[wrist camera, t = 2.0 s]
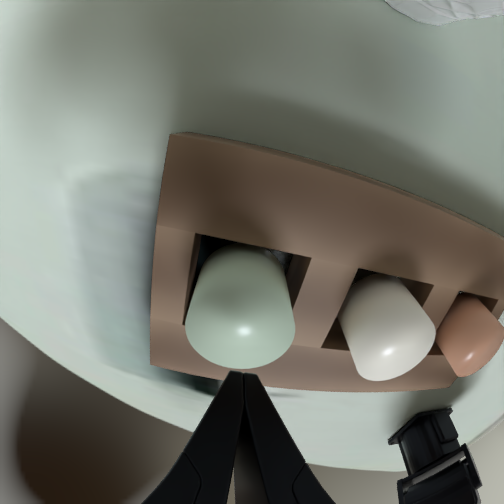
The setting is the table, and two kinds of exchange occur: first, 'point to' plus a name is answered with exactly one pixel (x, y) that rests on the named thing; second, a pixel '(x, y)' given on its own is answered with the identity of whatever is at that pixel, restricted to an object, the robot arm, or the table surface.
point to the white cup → (447, 10)
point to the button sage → (241, 308)
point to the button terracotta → (469, 335)
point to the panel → (311, 256)
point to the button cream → (384, 327)
